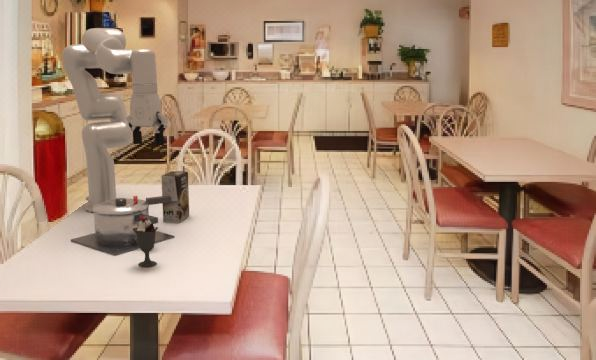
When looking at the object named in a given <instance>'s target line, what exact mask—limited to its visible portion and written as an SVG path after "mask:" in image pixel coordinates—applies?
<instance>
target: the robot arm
mask: <svg viewBox="0 0 596 360" xmlns="http://www.w3.org/2000/svg"><path fill="white" fill-rule="evenodd" d="M126 46H127V39H126V36H125V33H124V32H122V30H120V29H119V28H118V29H117V28H112V27H111V28H110V27H109V28H106V27H104V28H103V27H95V28H89V29H87V30H85V31H84V32H83V33H82V35H81V43H75V44H70V45H68V46H67V45H66V47H64V49H63V50H62V52H61V53H62V54H61V61H62V66H63V71H64V72H65V75H66V77H67V78H68V80H69V82H70V84H71V86H72V89H73V93H74V97H75V101H76V105H77V108H78V110H79V113H80V116H81V118H82V119H83V120H85V121H87V122H88V121H91V122H90V123H88V124H86V125H84V126H83V128H82V130H81V139H82V144H83V147H84V152H85V161H86V173H87V174H86V175H87V186H88V195H87V196H86V197H85V200H86V201H88V204H86V205H85V207H84V209H85V211H86V212H89V213H94V212H93V206H94V205H95V204H97V203H100V202H103V201H108V200H115V199H117V188H116V184H117V183H116V173H115V172H116V171H115V170H116V169H115V161H114V157H113V156H112V155H111V154H110V152H109V151H108V149H111V148H112V149H114V148H121V147H126V146H129V145H130V144H131V142H133V145H139V144H140V145H141V144H142V143H143V135H142V134H143V133H142V130H141V129H142V127H143V128H153V130H154V145H155V146H156V147H159V146H164V144H165V141H164V138H165V137H164V133H165V132H166V131H165V130H166V129H167V125H168V122H169V118H168V117H166V116H165V115H163V112H162V104H161V99H160V94H159V92H158V80H157V79H158V77H157V75H158V74H157V60H156V53H155V51H154V50H153V49H146V48H145V49H142V48H141V49H140V48H139V49H129V48H128V49H126ZM86 69H101V70H102V71H105V72H107V73H109V74H113V75H123V74H126V75H127V74H128V75H129V74H131V84H132V87H131V90H132V94H131V96H130V103H129V106H130V107H129V115H128V113H127V109H126V106H125V103H124V101H123V99H122V98H121V96H120V95H119V94H116V93H107V92H106V93H102V92H100V89H99V85H98V82H97V80H96V78H94V77H93V75H92V74H91V73H90V72H88V71H87V70H86ZM106 120H108V121H106ZM109 120H110V121H109ZM94 121H98V122H94ZM155 146H154V147H155Z"/></svg>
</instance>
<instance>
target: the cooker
mask: <svg viewBox="0 0 596 360" xmlns="http://www.w3.org/2000/svg"><path fill="white" fill-rule="evenodd" d="M141 213H142V214H141ZM141 213H140V212H138V213H134V214H127V215H102V214H97V213H95V212H93V220H94V233H89V234H86V235H82V236H77V237H73V238H71V239H70V242H72V243H74V244H78V245H81V246H83V247H84V246H85V247H87V248H89V249H90V248H91V249H93V250H96V251H99V252H103V253H105V254H108V255H111V256H119V255H122V254H126V253H129V252H131V251H132V252H133V251H136V250H138V249H139V250H140V248H139V245H138V241H137V236H136V233H135V232H134V231H133V228H136V227H137V224H138V223H139V222H140V218H141V217H142V215H143V217H145V218H146V219H149V220H150V221H151V223H153V225H156V224H159V217H158V216H157V217H156V216H153V215H149V213H150V212H149V208H148V209H147V210H145V211H142V212H141ZM172 239H175V235H173V234H170V233H165V232H161V231H158V230H156V235H155V244H158V243H161V242H165V241H168V240H172Z"/></svg>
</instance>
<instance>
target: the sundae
mask: <svg viewBox="0 0 596 360" xmlns="http://www.w3.org/2000/svg"><path fill="white" fill-rule="evenodd" d="M138 211H139V212H140V210H138ZM140 213H141V212H140ZM141 214H142V213H141ZM158 229H159V227H158V226H156V225H155V224H153V223H151V221H150V220H149V219H146V218H145V217H143V215H142V217H141V218H140V222H139V223H138V224H137V227H136V228H133V231H134V232H135V233H136V236H137V241H138V245H139V250H140V251H142V252H143V253H144V260H143V261H141V262H139V263H138V265H137V266H138V267H139V268H152V267H155V266H156V265H157V264H158V263H157V261H154V260H151V258H150V252H151V251H153V249H154V248H155V244H156V243H155V235H156V231H158Z"/></svg>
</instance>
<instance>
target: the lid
mask: <svg viewBox="0 0 596 360" xmlns="http://www.w3.org/2000/svg"><path fill="white" fill-rule="evenodd" d="M169 202H172V201H171V196H169V195H167V196H162V195H161V196H153V197H152V196H151V197H146V198H145V200H144V199H141V198H138V195H133V198H125V197H121V198H120V197H118V198H116V199H115V200H108V201H103V202H100V203H97V204H95V205H94V206H93V212H92V213H94V212H95V213H97V214H102V215H127V214H134V213H138V212H139V211H138V210H140V212H142V211H145V210H147V209H148V210H149V207H150V206H151V205H160V204H163V203H169Z"/></svg>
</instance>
